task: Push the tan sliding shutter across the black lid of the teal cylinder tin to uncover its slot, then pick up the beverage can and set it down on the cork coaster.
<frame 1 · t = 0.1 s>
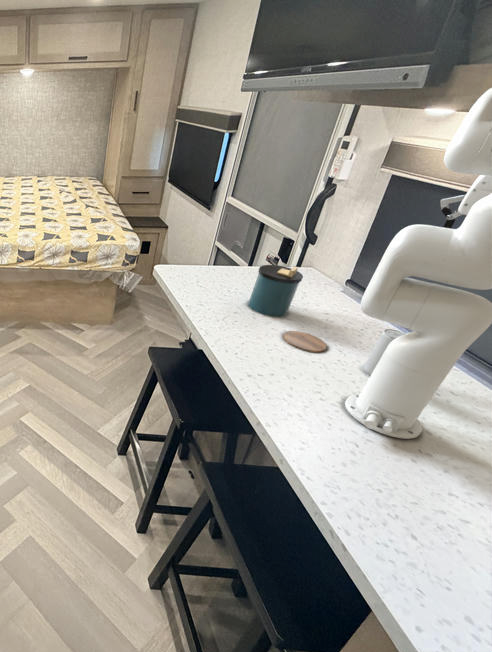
hand: (472, 239, 99), 31 cm above the worktop, tool pointing down, fingers open, 9 cm apart
beverage can: (374, 373, 102), on the worktop
coaster: (304, 342, 114), on the worktop
teal cylinder tin: (267, 308, 131), on the worktop
slider: (287, 270, 124), point 14 cm above the worktop, slide at 0.0 cm
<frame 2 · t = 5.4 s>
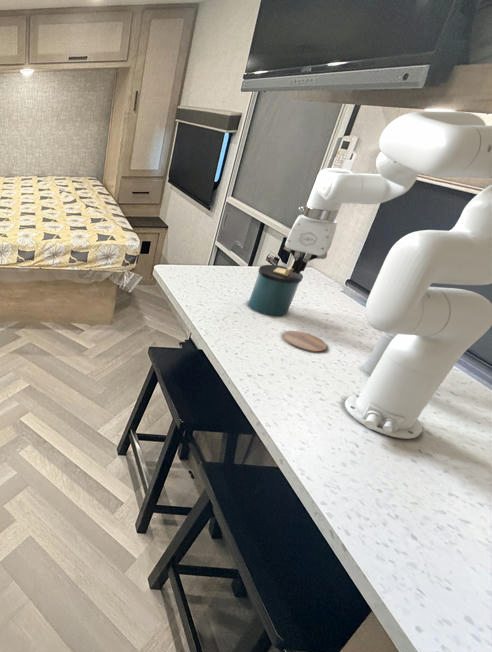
hand: (296, 271, 122), 15 cm above the worktop, tool pointing down, fingers closed
slider: (283, 269, 124), point 14 cm above the worktop, slide at 1.1 cm, touching gripper
everything else where it was.
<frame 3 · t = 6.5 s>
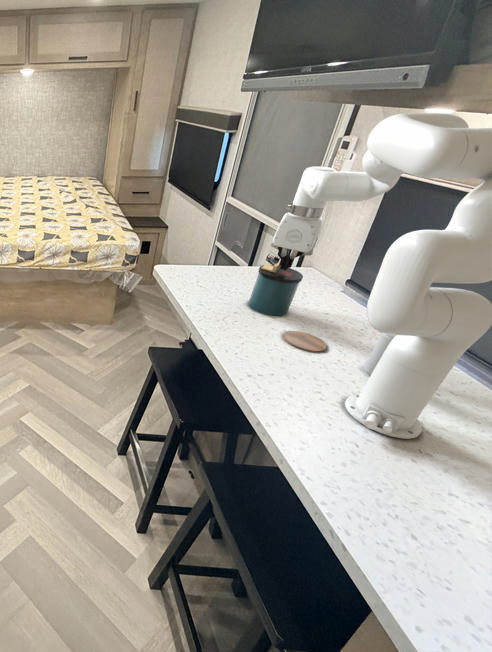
hand: (284, 268, 124), 15 cm above the worktop, tool pointing down, fingers closed
slider: (271, 266, 127), point 14 cm above the worktop, slide at 4.5 cm, touching gripper
everything else where it was.
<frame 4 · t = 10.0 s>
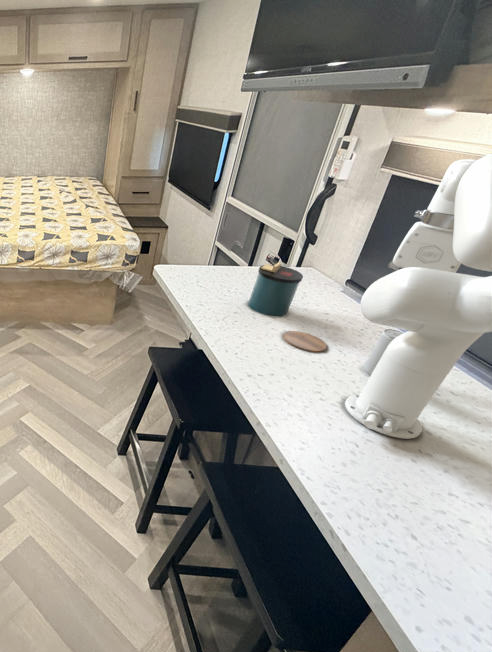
hand: (406, 296, 93), 21 cm above the worktop, tool pointing down, fingers closed
slider: (271, 266, 127), point 14 cm above the worktop, slide at 4.5 cm
everything else where it was.
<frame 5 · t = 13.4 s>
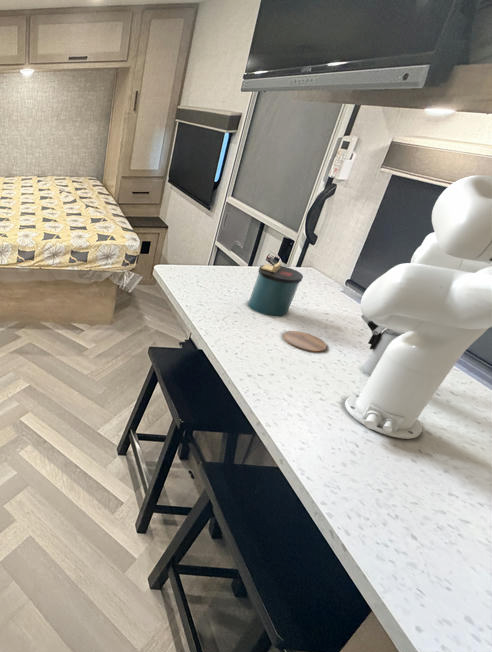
hand: (386, 351, 98), 7 cm above the worktop, tool pointing down, fingers closed on beverage can, 4 cm apart
beverage can: (374, 373, 102), on the worktop, touching gripper
everything else where it was.
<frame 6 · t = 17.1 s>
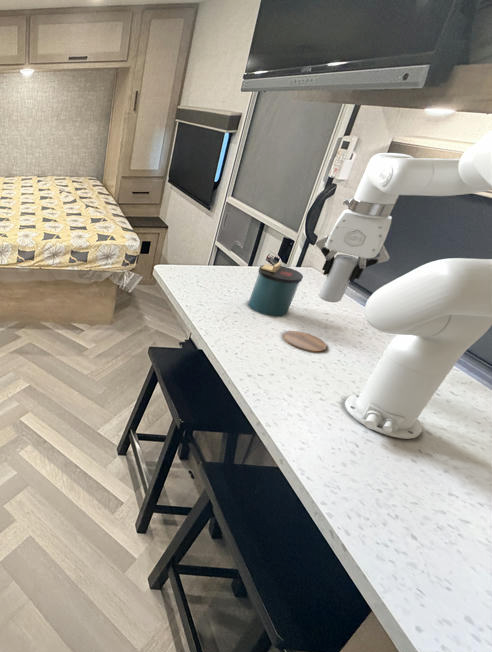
hand: (339, 276, 103), 21 cm above the worktop, tool pointing down, fingers closed on beverage can, 4 cm apart
beverage can: (328, 299, 107), point 14 cm above the worktop, touching gripper
everything else where it was.
when the fingers open (7 cm above the worktop, at t = 20.6 s): beverage can stays where it is, resting on coaster.
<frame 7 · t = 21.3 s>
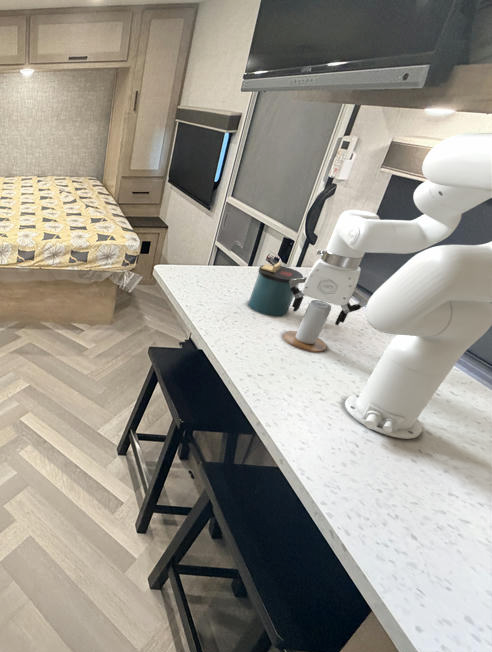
hand: (315, 316, 110), 9 cm above the worktop, tool pointing down, fingers open, 9 cm apart
beverage can: (304, 341, 114), resting on coaster
everything else where it was.
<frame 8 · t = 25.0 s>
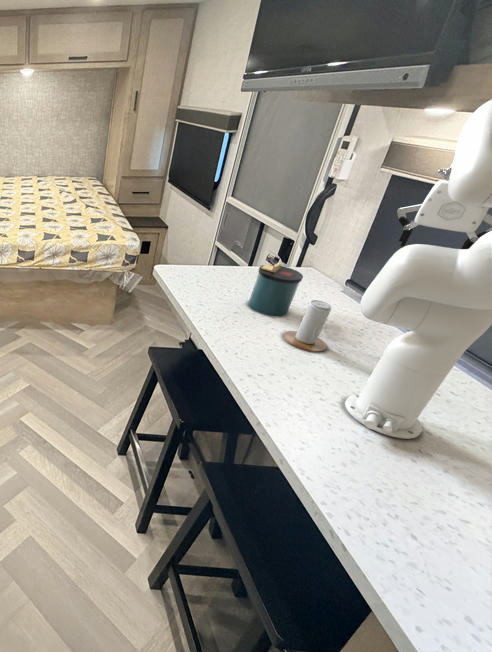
hand: (429, 250, 95), 30 cm above the worktop, tool pointing down, fingers open, 9 cm apart
nothing on the worktop moved.
at the end: slider slide at 4.5 cm; beverage can 0.1 cm off-centre on the coaster, point 0.3 cm above the coaster's base; beverage can tilted 0° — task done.
